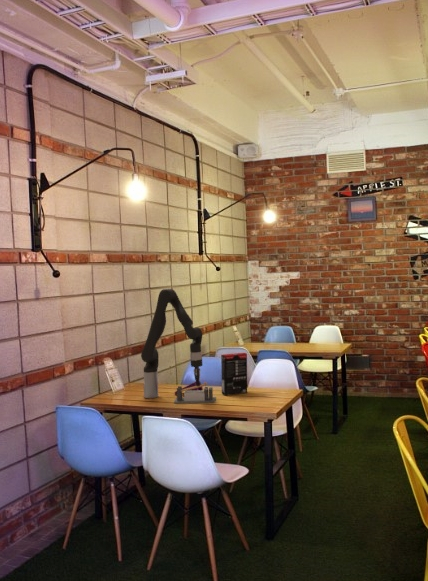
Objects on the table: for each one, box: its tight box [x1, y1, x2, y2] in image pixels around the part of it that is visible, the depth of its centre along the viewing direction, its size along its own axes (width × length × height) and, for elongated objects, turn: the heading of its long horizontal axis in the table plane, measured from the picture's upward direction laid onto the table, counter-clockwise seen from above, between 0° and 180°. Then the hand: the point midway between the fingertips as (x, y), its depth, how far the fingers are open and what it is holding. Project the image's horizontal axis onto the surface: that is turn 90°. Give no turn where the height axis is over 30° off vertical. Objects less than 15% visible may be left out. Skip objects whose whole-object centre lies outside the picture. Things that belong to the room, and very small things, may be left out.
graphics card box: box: [220, 352, 248, 396], centre depth 388 cm, size 17×7×27 cm, turn 115°
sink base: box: [173, 385, 217, 404], centre depth 370 cm, size 26×13×9 cm, turn 86°
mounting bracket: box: [174, 381, 204, 396], centre depth 390 cm, size 9×8×18 cm
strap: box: [181, 381, 208, 393], centre depth 370 cm, size 19×3×2 cm, turn 86°
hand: (197, 385), depth 370 cm, fingers closed
